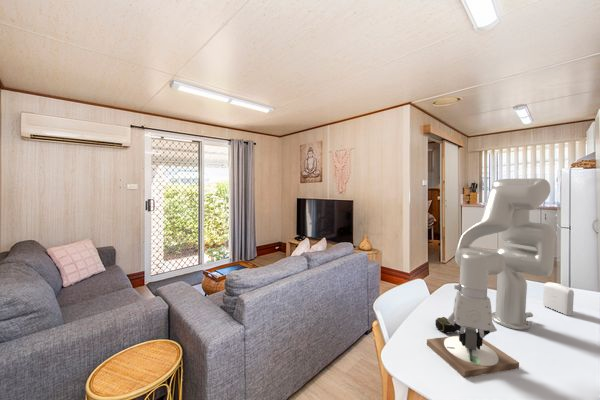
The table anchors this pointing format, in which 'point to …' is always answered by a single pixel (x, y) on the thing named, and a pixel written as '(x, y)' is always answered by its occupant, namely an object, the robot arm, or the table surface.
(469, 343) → the grey mallet
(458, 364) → the tuner board
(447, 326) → the tape measure
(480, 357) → the dial face
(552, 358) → the table surface
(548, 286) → the photo printer
